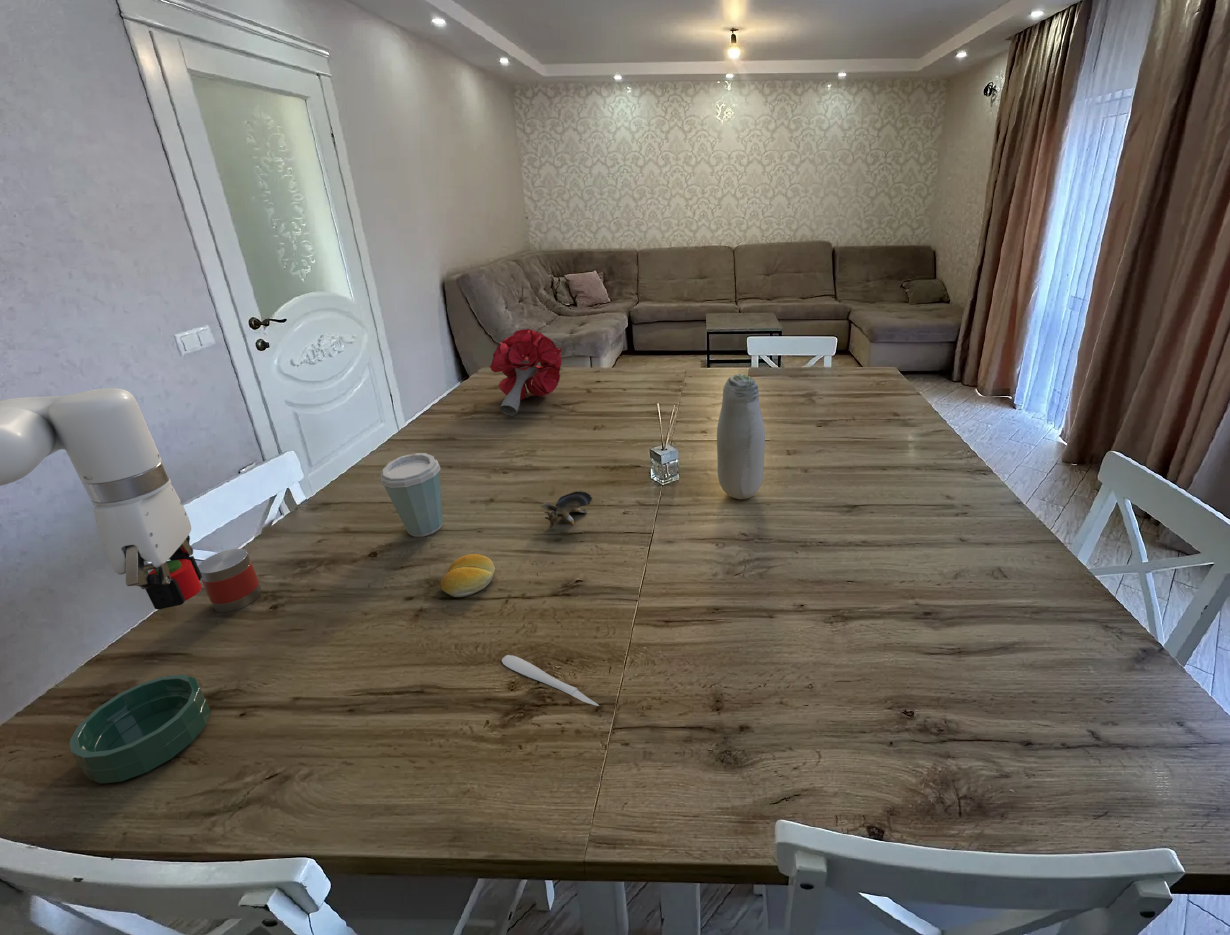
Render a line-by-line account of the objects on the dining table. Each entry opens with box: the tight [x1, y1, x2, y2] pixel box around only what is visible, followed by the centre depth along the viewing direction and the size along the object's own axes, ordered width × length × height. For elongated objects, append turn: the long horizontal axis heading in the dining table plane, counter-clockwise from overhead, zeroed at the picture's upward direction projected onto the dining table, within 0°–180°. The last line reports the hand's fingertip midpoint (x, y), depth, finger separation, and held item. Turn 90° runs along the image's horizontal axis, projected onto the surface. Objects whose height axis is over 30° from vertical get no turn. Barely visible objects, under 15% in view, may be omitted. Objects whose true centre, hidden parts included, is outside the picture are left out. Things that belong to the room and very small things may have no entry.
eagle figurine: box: [540, 490, 593, 528], centre depth 114 cm, size 8×7×9 cm
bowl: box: [69, 673, 212, 785], centre depth 69 cm, size 11×11×5 cm
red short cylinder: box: [148, 559, 203, 602], centre depth 78 cm, size 5×5×5 cm
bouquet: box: [489, 328, 563, 416], centre depth 176 cm, size 22×24×30 cm
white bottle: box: [716, 373, 766, 500], centre depth 119 cm, size 10×10×28 cm
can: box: [198, 548, 263, 613], centre depth 93 cm, size 6×6×8 cm
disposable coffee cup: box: [380, 452, 444, 538], centre depth 110 cm, size 11×11×15 cm
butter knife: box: [501, 654, 600, 707], centre depth 76 cm, size 1×27×3 cm
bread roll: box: [440, 553, 496, 598], centre depth 97 cm, size 8×9×4 cm
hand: (179, 592), depth 79 cm, fingers closed on red short cylinder, 4 cm apart
